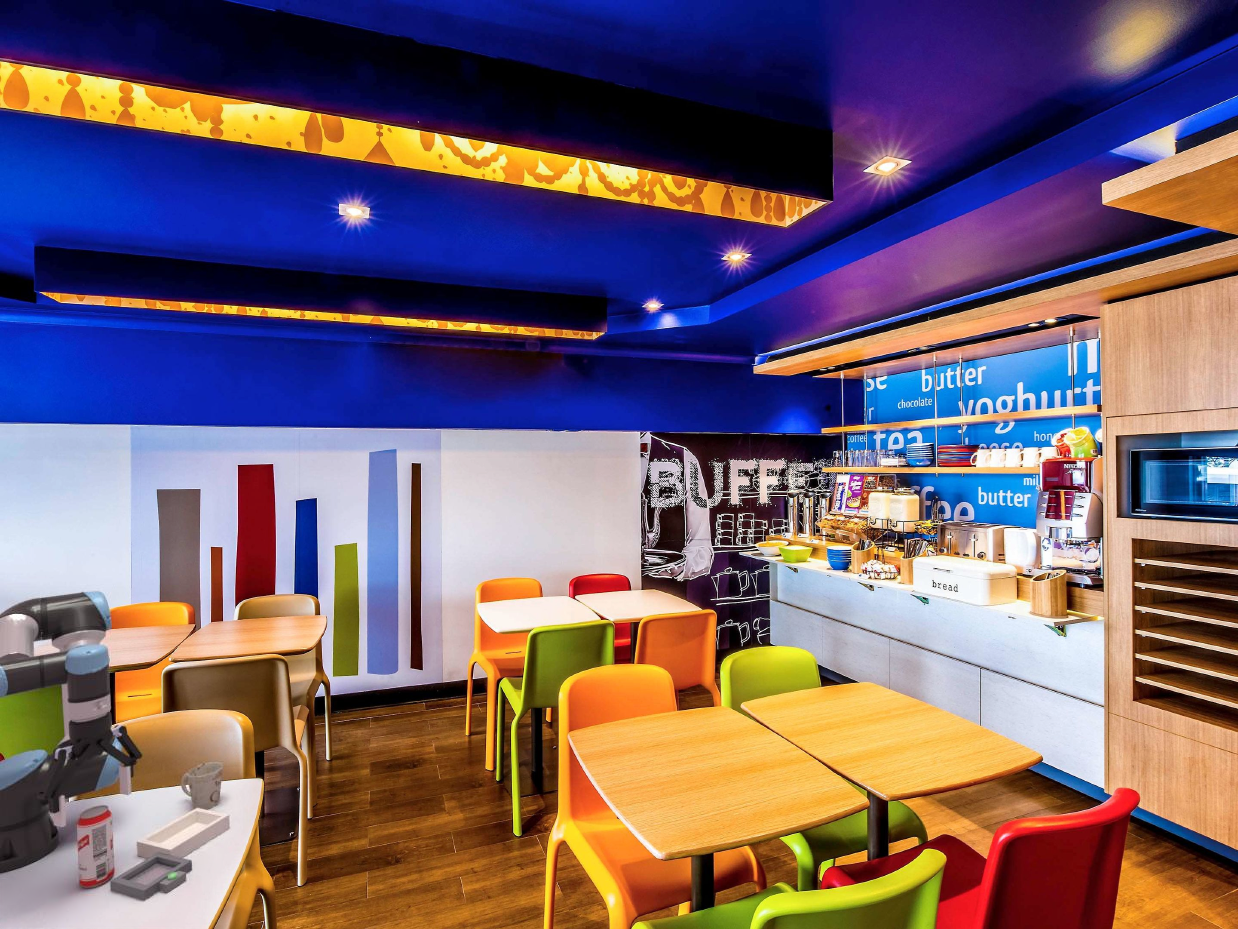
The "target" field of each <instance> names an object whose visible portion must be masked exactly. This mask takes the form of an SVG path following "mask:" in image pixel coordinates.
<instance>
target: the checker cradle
mask: <svg viewBox="0 0 1238 929" xmlns="http://www.w3.org/2000/svg"><path fill="white" fill-rule="evenodd" d="M192 862H193V861H192V860H191V859H188V858H185V857H183V858H180V857H176V856H172V855H167V854H163V853H159V852H158V853H156V854H155V855H153V856H151V857H150V858H145V860H143V861H141V862H140V863H138V864H136V865H135V866H133V867H131V868H129V869H127V870H126V871H124V872H123V873H121V874H120V875H118V876H116V877H114V878H112V879H111V880H110V881H109V882H110V883H109V884H110V885H109V886H110V888H109V889H110V892H115V893H118V894H121V895H125V896H128V897H131V898H135V899H138V900H141V901H146V900H148V899H149V898H151V897H153V896H154V895H156V894H157V893H159V892H161V893H166V894H169V892H171V891H172V890H174V889H176V888H177V887H179V886H180V885H182V884H183V883H184V882H186V881H187V874H188V873H189V872H191V871H193V863H192ZM156 863H158V864H162V865H165V866H169V867H173V869H171V870H169V871H168V872H166V873H165V874H163V875H162V876H160V877H158V878H157V879H155V880H154V881H152V882H150V883H149V884H147V885H144V884H140V883H137V882H133V881H130V879H132V878H133V877H135V876H137V875H138V874H140V873H141V872H143V871H145V870H146V869H148V868H150V867H151V866H153V865H155V864H156Z"/></svg>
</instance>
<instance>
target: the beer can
mask: <svg viewBox="0 0 1238 929" xmlns="http://www.w3.org/2000/svg"><path fill="white" fill-rule="evenodd" d="M76 837H77V838H76V839H77V842H76V843H77V859H78V861H77V862H78V866H77V867H78V881H79V885H80V886H81V887H83V888H84V889H93V888H96V887H99V886H101V885H103V884H106V883H107V882H108V881H109V880H110V879H111V878H112V877H113V875H114V874H115V870H116V869H115V854H114V853H115V852H114V850H115V849H114V830H113V814H112V812H111V811H110V810H109V806H108V805H104V804H102V805H97V806H93V807H90V808H87V809H85V810H84V811H82V812H81V813H80V814H79V819H78V821H77V823H76Z"/></svg>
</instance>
